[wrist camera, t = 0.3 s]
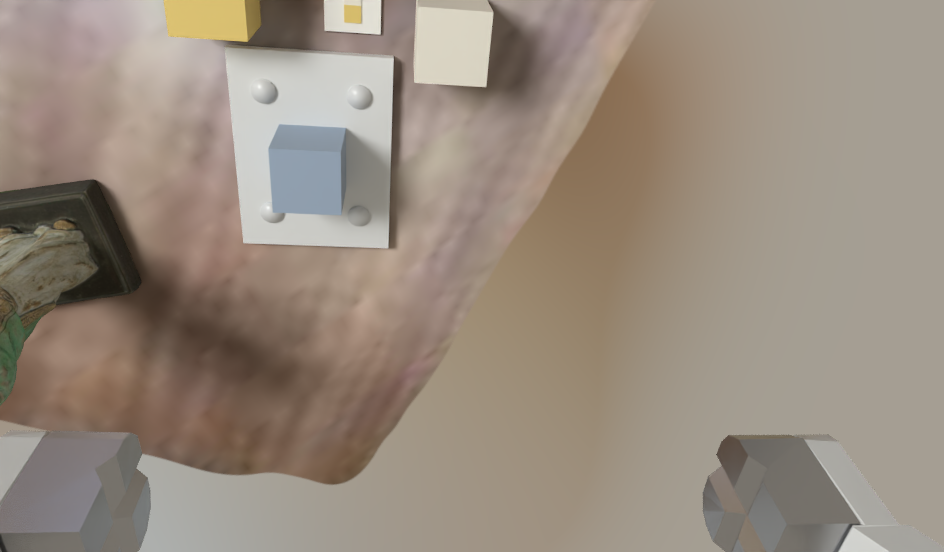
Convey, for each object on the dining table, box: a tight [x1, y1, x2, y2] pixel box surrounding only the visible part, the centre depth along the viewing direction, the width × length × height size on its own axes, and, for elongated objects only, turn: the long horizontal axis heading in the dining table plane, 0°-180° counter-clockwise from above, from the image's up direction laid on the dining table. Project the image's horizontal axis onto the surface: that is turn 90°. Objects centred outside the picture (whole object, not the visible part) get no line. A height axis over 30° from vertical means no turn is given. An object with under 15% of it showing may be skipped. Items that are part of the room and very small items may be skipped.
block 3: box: [414, 0, 494, 87], centre depth 49 cm, size 5×5×5 cm
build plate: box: [225, 45, 394, 248], centre depth 55 cm, size 16×12×1 cm
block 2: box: [268, 124, 346, 215], centre depth 52 cm, size 5×5×5 cm
